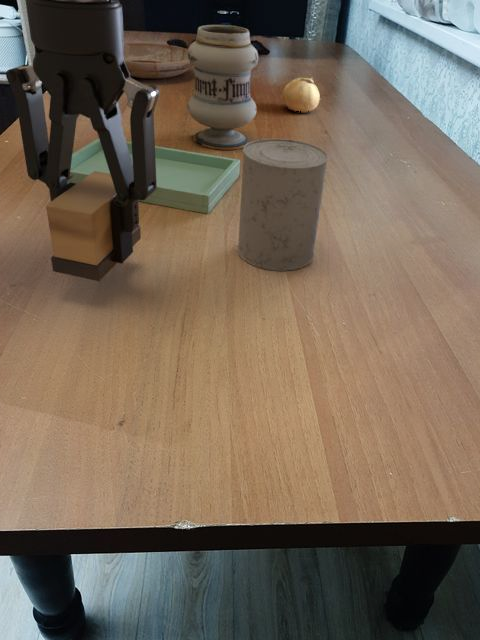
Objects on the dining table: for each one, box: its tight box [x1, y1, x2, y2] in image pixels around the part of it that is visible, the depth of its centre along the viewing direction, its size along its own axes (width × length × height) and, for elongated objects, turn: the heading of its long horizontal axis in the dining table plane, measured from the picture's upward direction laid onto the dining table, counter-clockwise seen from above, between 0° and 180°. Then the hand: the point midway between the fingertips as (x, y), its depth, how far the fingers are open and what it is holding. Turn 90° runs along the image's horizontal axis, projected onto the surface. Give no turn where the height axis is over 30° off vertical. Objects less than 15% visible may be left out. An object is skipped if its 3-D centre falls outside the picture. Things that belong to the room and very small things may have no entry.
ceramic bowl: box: [123, 42, 194, 80], centre depth 138 cm, size 23×24×5 cm
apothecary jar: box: [187, 24, 260, 151], centre depth 98 cm, size 12×12×18 cm
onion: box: [281, 76, 321, 113], centre depth 121 cm, size 8×8×7 cm
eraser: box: [45, 171, 142, 282], centre depth 58 cm, size 10×5×7 cm, turn 166°
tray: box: [67, 137, 241, 214], centre depth 85 cm, size 24×16×3 cm, turn 76°
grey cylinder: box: [236, 138, 329, 272], centre depth 67 cm, size 10×10×12 cm
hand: (99, 251), depth 60 cm, fingers closed on eraser, 5 cm apart
